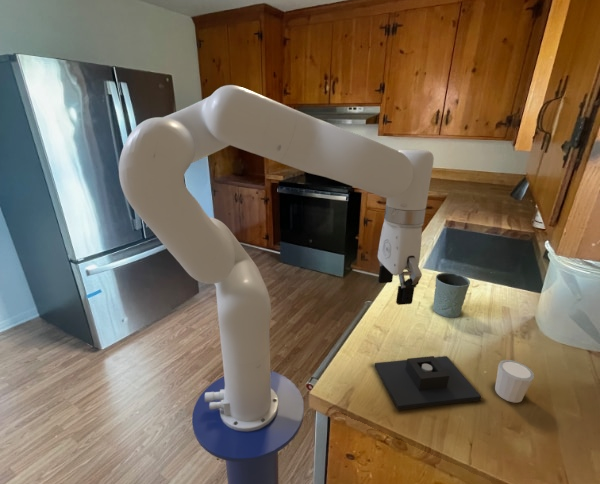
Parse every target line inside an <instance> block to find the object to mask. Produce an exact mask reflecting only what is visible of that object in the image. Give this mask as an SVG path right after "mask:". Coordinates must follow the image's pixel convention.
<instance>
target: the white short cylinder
mask: <svg viewBox="0 0 600 484" xmlns="http://www.w3.org/2000/svg"><path fill="white" fill-rule="evenodd" d="M534 378H535V374H534V372H533V371H532V369H531V368H530V367H529V366H527V365H525V364H524V363H522V362H519V361H517V360H512V359H503V360H501V361H499V363H498V367H497V374H496V378H495V379H496V380H495V386H494V390H495V393H496V394H497V396H498V397H500V398H502V399H503V400H505V401H507V402H510V403H514V404H515V403H521V402H522V401H523V399H524V397H525V395H526V394H527V392H528V389H529V388H530V387H531V384H532V383H533V380H534Z"/></svg>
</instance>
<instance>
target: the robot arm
mask: <svg viewBox="0 0 600 484" xmlns="http://www.w3.org/2000/svg"><path fill="white" fill-rule="evenodd" d="M229 146H231V147H234V148H236V149H240V150H243V151H246V152H248V153H251V154H255V155H257V156H260V157H262V158H265V159H268V160H272V161H273V162H274V161H275V162H277V163H279V164H283V165H286V166H287V167H291V168H294V169H296V170H299V171H302V172H305V173H306V174H307V173H308V174H311V175H316V176H320V177H324V178H327V179H330V180H334V181H336V182H339V183H342V184H345V185H348V186H350V187H353V188H357V189H359V190H362V191H365V192H367V193H370V194H373V195H376V196H378V197H382V198H385V199H386V202H385V209H384V210H385V211H384V219H383V224H382V228H381V232H380V237H379V244H378V250H377V259H378V261H379V269H378V270H379V271H378V279H377V281H378V283H379V284H389V283H393V279H394V278H393V277H394V276H396V277H397V276H398V279H399V284H400V285H398V286H397V292H396V299H395V300H396V301H395V304H397V306H400V305H412V304H413V299H414V293H415V288H417V285H419V282H420V280H421V278H422V276H423V274H422V271H421V269H420V267H419V265H420V260H421V259H420V258H421V251H422V239H423V238H422V237H423V226H424V223H425V217H426V210H427V205H428V197H429V191H430V185H431V181H432V180H431V179H432V173H433V167H434V160H435V159H434V154H433V153H432V152H431V151H429V150H425V149H418V148H417V149H416V148H415V149H414V148H411V149H410V148H404V149H403V148H402V149H398V150H397V149H395V148H393V147H390V146H388V145H385V144H383V143H380V142H378V141H377V140H373V139H371V138H368V137H365V136H364V135H361V134H357V133H355V132H353V131H350V130H348V129H347V130H346V129H344V128H342V127H339V126H337V125H334V124H332V123H330V122H328V121H325V120H322V119H320V118H316V117H314V116H311V115H310V114H307V113H304V112H302V111H299V110H298V109H294V108H292V107H290V106H287V105H286V104H283V103H280V102H278V101H277V100H274V99H271V98H269V97H266V96H264V95H262V94H259V93H257V92H255V91H253V90H250V89H248V88H245V87H241V86H239V85H234V84H226V85H223V86H220V87H219V88H217V89H216V90H215V91H213V93H212V94H211V95H209V96H208V97H205V98H204V99H201V100H199V101H197V102H195V103H193V104H190V105H189V106H187V107H183V108H182V109H180V110H178V111H175V112H173V113H170V114H168V115H165V116H161V117H160V116H158V117H151V118H147V119H145V120H143V121H142V122H140V123H139V124H138V125H136V126H135V127H134V129H133V130H132V131H131V132H130V133H129V134H128V137H127V139H126V140H125V142H124V145H123V147H122V150H121V153H120V157H119V162H118V178H119V184H120V187H121V190H122V193H123V195H124V197H125V199H126V201H127V202H128V204H129V206H130V207H131V208H132V209H133V211H134V212H135V214H137V216H138V217H139V218H140V219H141V220H142V221H143V222H144V223H145V224H146V226H147V227H148V228H149V229H150V230H151V232H153V234H154V235H155V237H157V239H158V241H160V243H161V244H162V245H163V246H164V247H165V248H166V250H167V251H168V252H169V253H170V254H171V255H172V256H173V258H174V259H175V260H176V262H178V264H179V265H180V266H181V267H182V268H183V269H184V271H185V272H186V273H187V274H188V275H189V276H190V277H191V278H192V279H194V280H195V281H197V282H199V283H202V284H205V285H214V286H215V295H216V308H217V310H216V311H217V319H218V326H219V327H218V328H219V336H220V337H219V338H220V348H221V349H220V350H221V356H222V367H223V377H224V380H225V389H222V390H220V392H206V393H205V402H210V405H209V408H210V409H216V408H220V416H221V419H222V421H223V422H224V423H225V424H226V425H227V426H228V427H230V428H232V429H234V430H237V431H246V432H247V431H254V430H257V429H260V428H262V427H264V426H266V425H267V424H269V423H270V422H271V421H272V420H273V418H274V417H275V416H276V413H277V411H278V397H277V395H276V393H275V392H274V391H273V390H272V389H271V375H270V371H271V346H270V345H271V343H270V342H271V341H270V340H271V339H270V338H271V337H270V331H271V330H270V329H271V328H270V327H271V317H272V302H271V297H270V294H269V290H268V287H267V286H266V283H265V281H264V279H263V277H262V274H261V272H260V269H259V267H258V266H257V264H256V263H255V261H254V260H253V259H252V257H251V256H250V255H249V253H248V252H247V251H246V250H245V248H244V247H243V246H242V244H241V243H240V242H239V240H238V238H236V236H235V235H234V233H233V232H232V231H231V229H229V227H228V226H227V225H226V224H225V223H224V222H223V221H221V220H220V219H218V218H215V217H212V216H209V215H208V214H207V213H206V211H205V210H204V209H203V207H202V206H201V204H200V203H199V202H198V200H197V199H196V198H195V197H194V195H193V194H192V193H191V192H190V191H189V189H188V188H187V186H186V183H185V182H186V181H185V174H186V172H187V170H188V169H189V168H190V166H191V164H193V163H195V162H197V161H199V160H202V159H203V158H206V157H208V156H211V155H213V154H215V153H217V152H219V151H222V150H223V149H225V148H227V147H229ZM407 276H409V278H407V279H406V278H405V277H407ZM216 400H220V402H212V401H216Z"/></svg>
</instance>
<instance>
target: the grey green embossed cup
mask: <svg viewBox="0 0 600 484" xmlns="http://www.w3.org/2000/svg"><path fill="white" fill-rule="evenodd" d="M470 285H471V281H470V280H469V278H467V277H466V276H464V275H462V274H460V273H459V274H458V273H456V272H441V273H438V274H436V276H435V288H434V294H433V295H434V296H433V304H432V310H433V311H434V312H435V313H436V314H438V315H439V316H442V317H445V318H457V317H459V316H460V315H461V312H462V309H463V306H464V303H465V300H466V296H467V293H468V290H469V288H470Z"/></svg>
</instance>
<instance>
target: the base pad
mask: <svg viewBox="0 0 600 484" xmlns="http://www.w3.org/2000/svg"><path fill="white" fill-rule="evenodd" d="M434 357H435V356H434ZM435 358H436V360H437V361H438V362H439V363H440V365H441V366H442V367H443V368H444V370H445V371H446V372H447V373H448V375H449V380H448V384H447V388H438V389H429V390H420V391H419V390H418V389H417V387H416V385H415V384H414V382H413V381H412V379H411V378H410V376H409V374H408V373H407V372H406V370H405V369H406V363H407V359H402V360H401V359H400V360H393V361H381V362H375V363H374V368H375V371H376V373H377V374H378V376H379V378H380V380H381V382H382V384H383V386H384V387H385V390H386V391H387V393H388V395H389V397H390V399H391V401H392V402H393V404H394V406H395V408H396V410H397V411H400V410H409V409H416V408H418V409H419V408H424V407H425V408H426V407H435V406H444V405H451V404H459V403H468V402H476V401H481V399H482V395H481V394H480V393H479V392H478V390H477V389H476V388H475V386H474V385H473V384H471V382H470V381H469V380H468V378H466V377H465V376H464V374H463V373H462V372H461V371H460V370H459V368H458V367H457V366H456V365H455V363H453V362H452V360H451V359H450V358H449V357H448V355H446V356H445V355H443V356H436V357H435ZM421 369H422V370H423V372H424V373H429V372H432V369H433V368H432V366H431V365H429V364H422V367H421Z"/></svg>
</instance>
